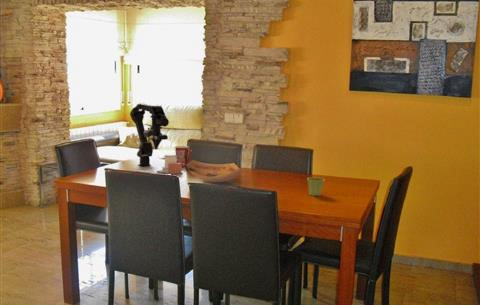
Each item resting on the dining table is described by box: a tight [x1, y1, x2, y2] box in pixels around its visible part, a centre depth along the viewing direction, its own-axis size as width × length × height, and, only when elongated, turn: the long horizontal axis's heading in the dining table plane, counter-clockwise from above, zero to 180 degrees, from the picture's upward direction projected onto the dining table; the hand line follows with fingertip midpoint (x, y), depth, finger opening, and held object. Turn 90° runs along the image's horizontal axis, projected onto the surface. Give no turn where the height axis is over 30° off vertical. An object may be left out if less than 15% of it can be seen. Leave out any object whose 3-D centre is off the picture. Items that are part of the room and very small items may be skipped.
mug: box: [174, 145, 194, 168], centre depth 330 cm, size 13×9×14 cm
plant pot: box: [306, 176, 326, 197], centre depth 263 cm, size 9×9×9 cm
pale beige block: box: [164, 154, 177, 168], centre depth 306 cm, size 4×6×10 cm
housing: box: [156, 163, 184, 176], centre depth 307 cm, size 14×10×7 cm
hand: (156, 149), depth 317 cm, fingers closed
